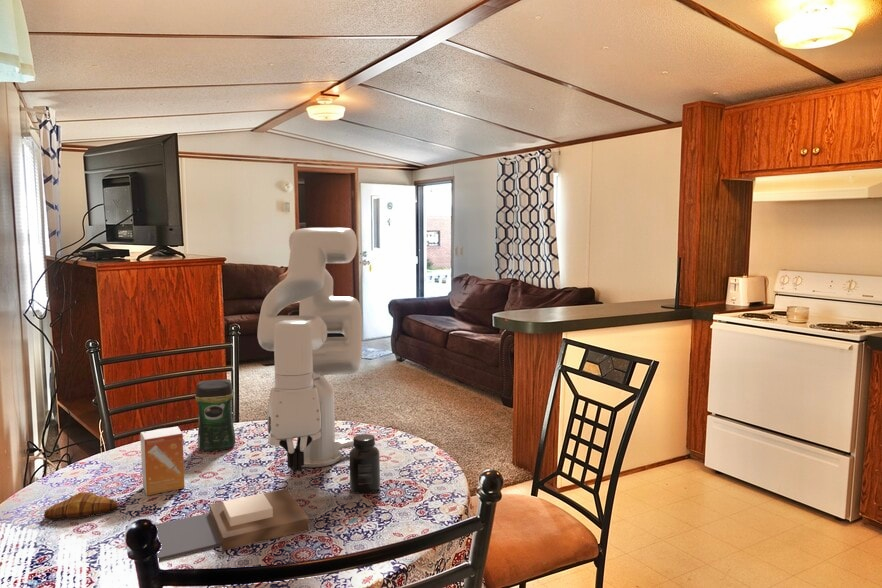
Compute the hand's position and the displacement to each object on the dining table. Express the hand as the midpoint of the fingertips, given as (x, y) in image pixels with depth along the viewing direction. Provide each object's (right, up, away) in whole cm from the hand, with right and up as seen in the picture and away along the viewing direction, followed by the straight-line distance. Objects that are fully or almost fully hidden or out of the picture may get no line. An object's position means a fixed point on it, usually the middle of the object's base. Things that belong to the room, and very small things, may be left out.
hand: (295, 469), depth 124 cm
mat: (-19, -11, -8) cm, 23 cm away
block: (-9, -8, -3) cm, 12 cm away
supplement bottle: (+12, -9, +14) cm, 21 cm away
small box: (-34, -9, +15) cm, 38 cm away
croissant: (-45, -10, +2) cm, 46 cm away
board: (-7, -10, -2) cm, 12 cm away
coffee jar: (-31, -6, +41) cm, 52 cm away
